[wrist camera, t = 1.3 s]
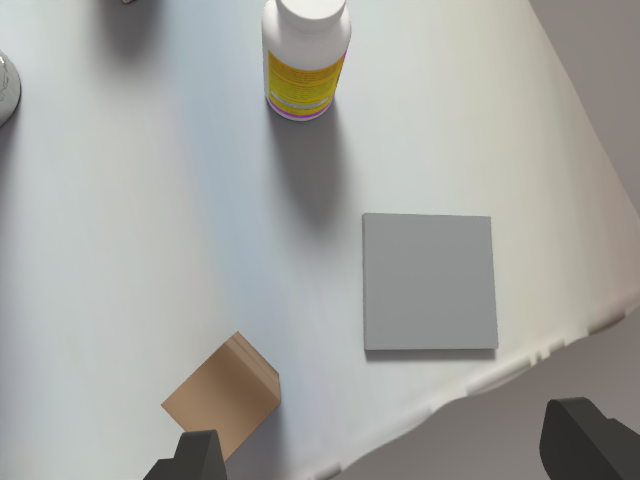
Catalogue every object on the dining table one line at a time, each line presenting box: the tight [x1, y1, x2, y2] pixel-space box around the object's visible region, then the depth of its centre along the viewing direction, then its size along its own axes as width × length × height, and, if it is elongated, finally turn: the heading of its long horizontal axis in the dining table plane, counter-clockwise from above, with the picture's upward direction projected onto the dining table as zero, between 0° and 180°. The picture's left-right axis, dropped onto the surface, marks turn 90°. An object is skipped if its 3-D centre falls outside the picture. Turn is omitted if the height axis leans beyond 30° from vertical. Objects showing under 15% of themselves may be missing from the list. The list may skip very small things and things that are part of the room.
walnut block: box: [161, 332, 281, 461], centre depth 29 cm, size 5×5×10 cm
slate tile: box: [362, 213, 498, 350], centre depth 37 cm, size 12×12×1 cm
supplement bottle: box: [262, 0, 351, 121], centre depth 32 cm, size 7×7×13 cm
